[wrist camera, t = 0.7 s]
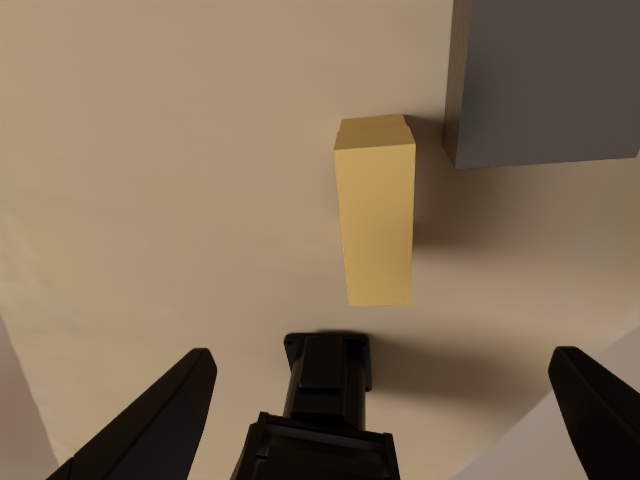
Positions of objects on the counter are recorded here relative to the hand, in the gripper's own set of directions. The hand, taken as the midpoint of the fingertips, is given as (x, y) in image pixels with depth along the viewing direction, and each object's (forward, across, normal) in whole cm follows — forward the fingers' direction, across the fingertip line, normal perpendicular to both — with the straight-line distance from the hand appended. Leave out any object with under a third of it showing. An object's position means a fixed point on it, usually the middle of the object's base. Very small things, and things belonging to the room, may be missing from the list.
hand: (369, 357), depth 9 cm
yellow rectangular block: (+12, 0, 0) cm, 12 cm away
